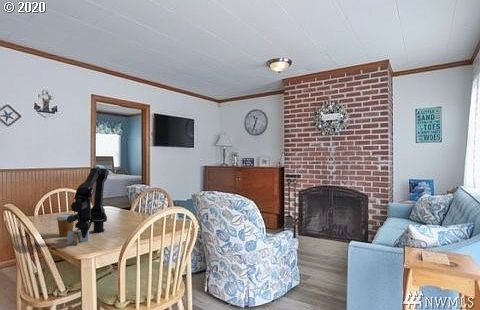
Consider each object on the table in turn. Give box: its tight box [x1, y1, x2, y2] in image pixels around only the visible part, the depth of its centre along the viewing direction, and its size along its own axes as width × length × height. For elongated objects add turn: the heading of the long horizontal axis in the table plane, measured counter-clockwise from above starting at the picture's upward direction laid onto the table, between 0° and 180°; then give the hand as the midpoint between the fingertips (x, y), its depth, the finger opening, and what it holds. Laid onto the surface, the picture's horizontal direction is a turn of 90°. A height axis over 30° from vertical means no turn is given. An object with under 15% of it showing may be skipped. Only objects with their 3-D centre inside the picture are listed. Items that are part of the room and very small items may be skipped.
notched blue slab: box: [67, 229, 90, 244], centre depth 158 cm, size 2×10×6 cm, turn 109°
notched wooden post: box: [72, 228, 82, 247], centre depth 158 cm, size 14×2×6 cm, turn 19°
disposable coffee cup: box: [55, 213, 75, 238], centre depth 170 cm, size 10×10×12 cm
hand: (84, 236), depth 159 cm, fingers open, 4 cm apart
